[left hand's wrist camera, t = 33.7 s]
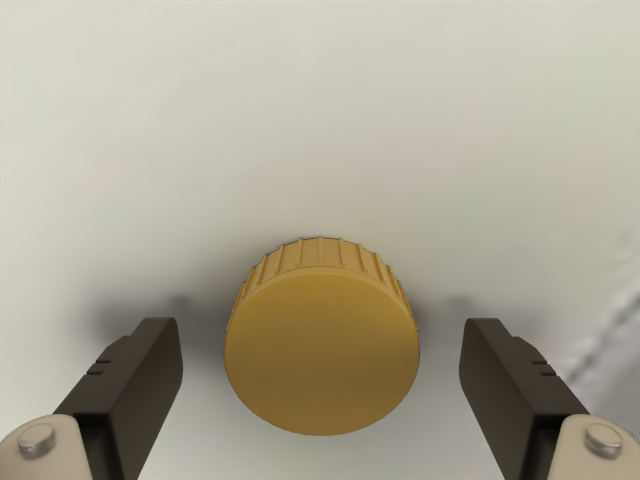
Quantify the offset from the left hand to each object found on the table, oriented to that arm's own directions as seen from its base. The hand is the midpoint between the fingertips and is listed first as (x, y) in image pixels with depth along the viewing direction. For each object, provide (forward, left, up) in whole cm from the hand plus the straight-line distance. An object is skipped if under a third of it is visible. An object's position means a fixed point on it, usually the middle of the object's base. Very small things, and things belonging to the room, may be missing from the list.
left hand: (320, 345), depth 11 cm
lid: (0, 0, +1) cm, 1 cm away
